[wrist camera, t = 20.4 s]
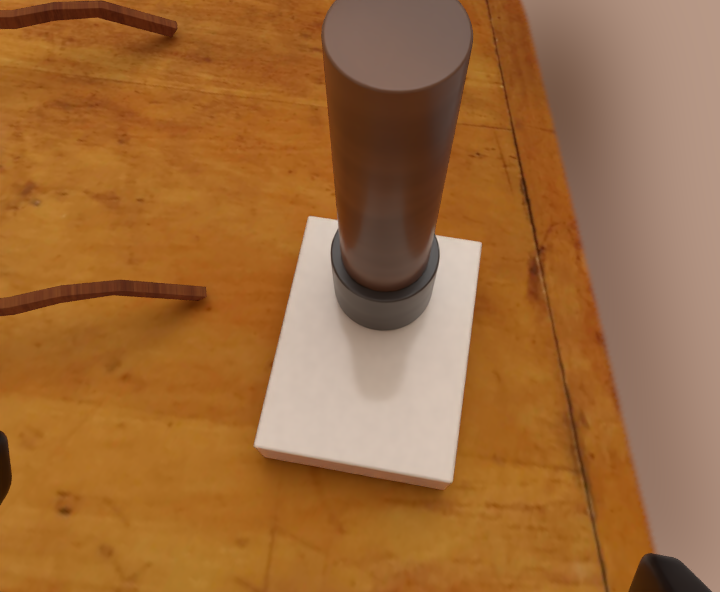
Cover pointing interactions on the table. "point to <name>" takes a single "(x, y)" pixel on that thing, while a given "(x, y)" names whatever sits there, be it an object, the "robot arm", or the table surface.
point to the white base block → (370, 374)
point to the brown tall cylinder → (391, 147)
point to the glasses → (105, 288)
